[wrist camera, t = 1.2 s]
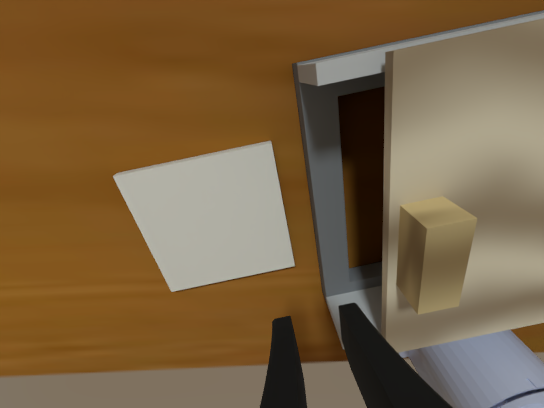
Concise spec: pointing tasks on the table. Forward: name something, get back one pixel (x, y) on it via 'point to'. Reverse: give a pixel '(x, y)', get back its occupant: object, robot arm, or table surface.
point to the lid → (463, 187)
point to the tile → (211, 215)
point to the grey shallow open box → (328, 161)
